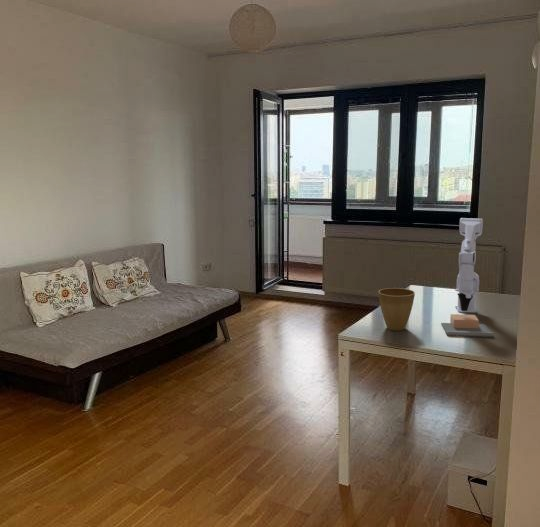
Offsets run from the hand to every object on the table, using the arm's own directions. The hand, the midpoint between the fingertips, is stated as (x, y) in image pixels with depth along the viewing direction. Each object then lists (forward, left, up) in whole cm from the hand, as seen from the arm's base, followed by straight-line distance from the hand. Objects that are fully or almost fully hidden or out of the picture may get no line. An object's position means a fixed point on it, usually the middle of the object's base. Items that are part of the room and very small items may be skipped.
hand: (464, 310), depth 231 cm
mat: (+7, 0, -7) cm, 10 cm away
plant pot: (+6, -29, -7) cm, 31 cm away
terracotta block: (-3, 0, -4) cm, 5 cm away
